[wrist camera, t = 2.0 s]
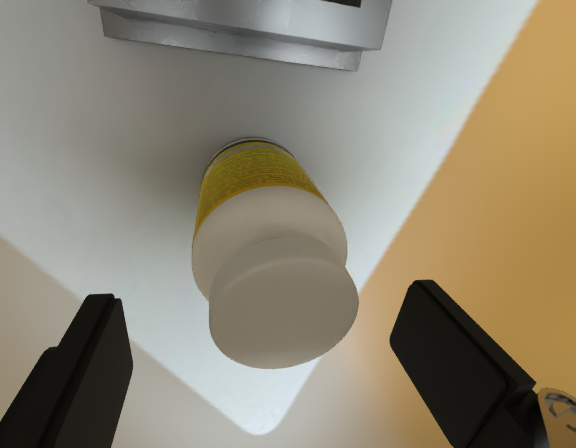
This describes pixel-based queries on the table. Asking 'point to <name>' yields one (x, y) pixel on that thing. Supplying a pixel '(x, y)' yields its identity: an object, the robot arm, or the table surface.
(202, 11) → the socket
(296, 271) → the pill bottle
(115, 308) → the robot arm
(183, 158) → the table surface
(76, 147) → the table surface
